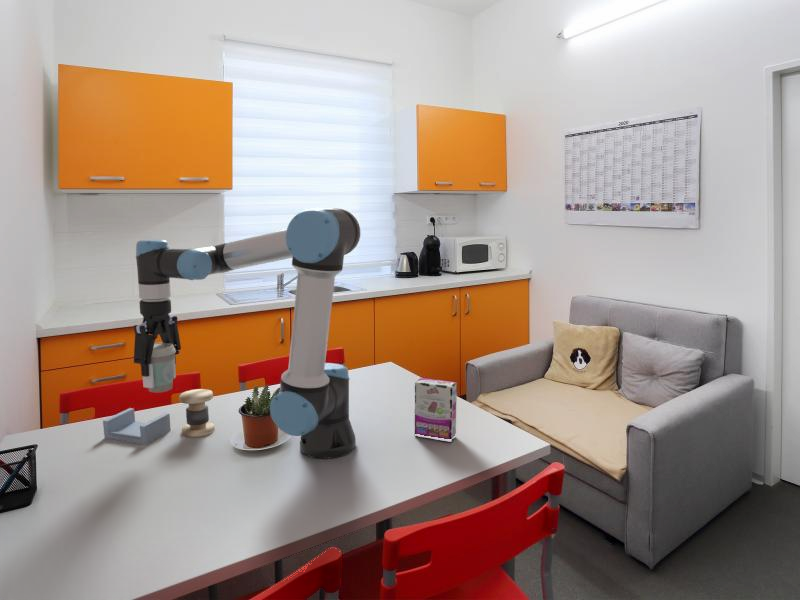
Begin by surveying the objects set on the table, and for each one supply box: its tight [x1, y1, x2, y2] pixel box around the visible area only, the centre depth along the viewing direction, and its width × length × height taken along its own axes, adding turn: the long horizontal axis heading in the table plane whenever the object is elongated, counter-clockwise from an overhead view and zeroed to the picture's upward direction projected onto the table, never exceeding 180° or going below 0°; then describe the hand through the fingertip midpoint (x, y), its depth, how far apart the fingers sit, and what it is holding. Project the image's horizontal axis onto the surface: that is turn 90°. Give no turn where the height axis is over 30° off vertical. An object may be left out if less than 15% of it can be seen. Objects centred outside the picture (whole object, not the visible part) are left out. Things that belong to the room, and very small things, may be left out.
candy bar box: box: [414, 377, 458, 439], centre depth 154 cm, size 11×5×16 cm, turn 68°
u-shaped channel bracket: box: [102, 407, 171, 445], centre depth 155 cm, size 10×14×5 cm
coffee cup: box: [145, 341, 176, 393], centre depth 146 cm, size 9×8×12 cm
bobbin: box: [178, 388, 216, 439], centre depth 157 cm, size 9×9×11 cm
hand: (160, 382), depth 146 cm, fingers closed on coffee cup, 8 cm apart
